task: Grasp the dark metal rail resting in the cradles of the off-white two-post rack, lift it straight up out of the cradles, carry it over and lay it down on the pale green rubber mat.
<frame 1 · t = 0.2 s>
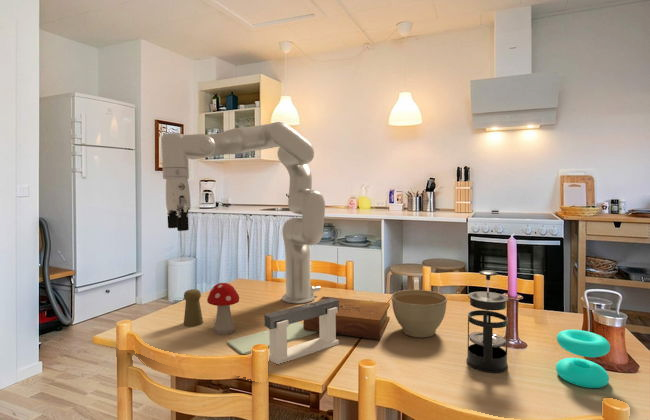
hand: (178, 229, 121), 31 cm above the table, tool pointing down, fingers open, 9 cm apart
rail: (303, 317, 104), point 9 cm above the table, touching rack
french press: (486, 365, 95), on the table
diary: (348, 325, 122), on the table, touching mat
rack: (304, 350, 104), on the table
decorative mushroom: (224, 332, 119), on the table
cork: (193, 324, 126), on the table
planter bowl: (418, 332, 116), on the table
donuts: (581, 379, 88), on the table
mat: (273, 337, 113), on the table
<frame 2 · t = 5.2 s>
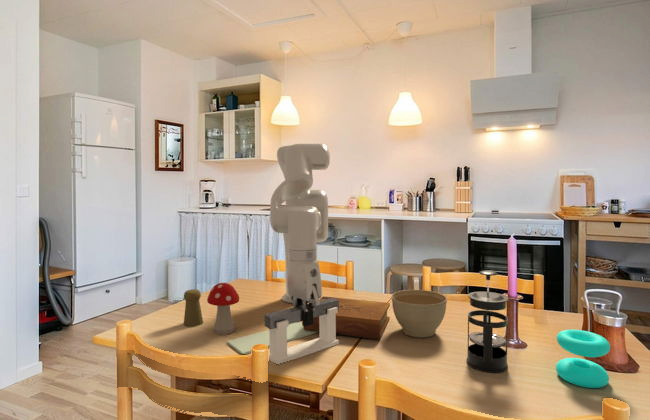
hand: (303, 322, 104), 8 cm above the table, tool pointing down, fingers closed on rail, 3 cm apart
rail: (303, 317, 104), point 9 cm above the table, touching gripper, rack
everything else where it was.
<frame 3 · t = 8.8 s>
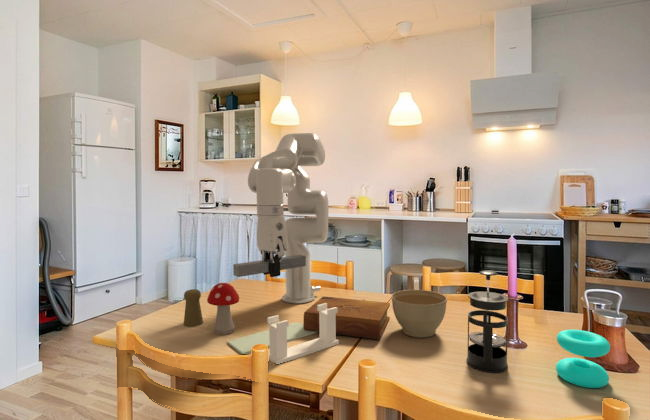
hand: (271, 274, 112), 19 cm above the table, tool pointing down, fingers closed on rail, 3 cm apart
rail: (271, 270, 112), point 20 cm above the table, touching gripper
everything else where it was.
when the fingers open (2 cm above the table, at t = 12.4 s): rail stays where it is, resting on diary, mat.
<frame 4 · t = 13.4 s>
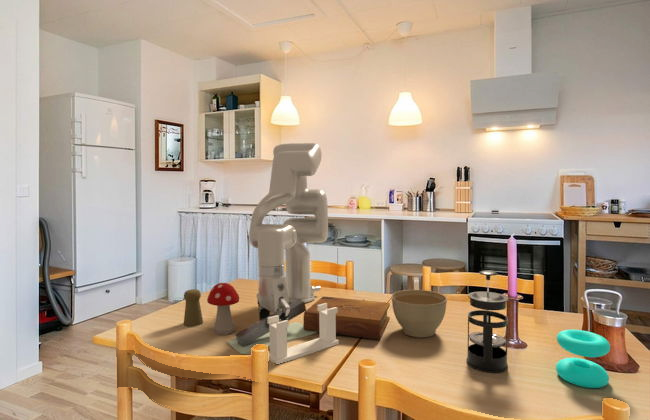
hand: (273, 328, 113), 3 cm above the table, tool pointing down, fingers open, 9 cm apart
rail: (273, 326, 113), point 3 cm above the table, tilted 15°, touching diary, mat
diary: (348, 325, 122), on the table, touching mat, rail
everything else where it was.
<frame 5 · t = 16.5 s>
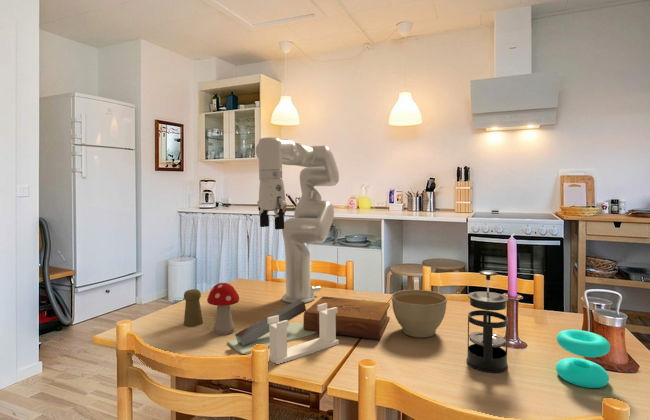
hand: (271, 227, 129), 30 cm above the table, tool pointing down, fingers open, 9 cm apart
nothing on the table moved.
at the end: rail inside the target area on the mat (0.2 cm from its centre), point 3.4 cm above the mat's base; rail point 3.4 cm above the table; the gripper is holding nothing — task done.
